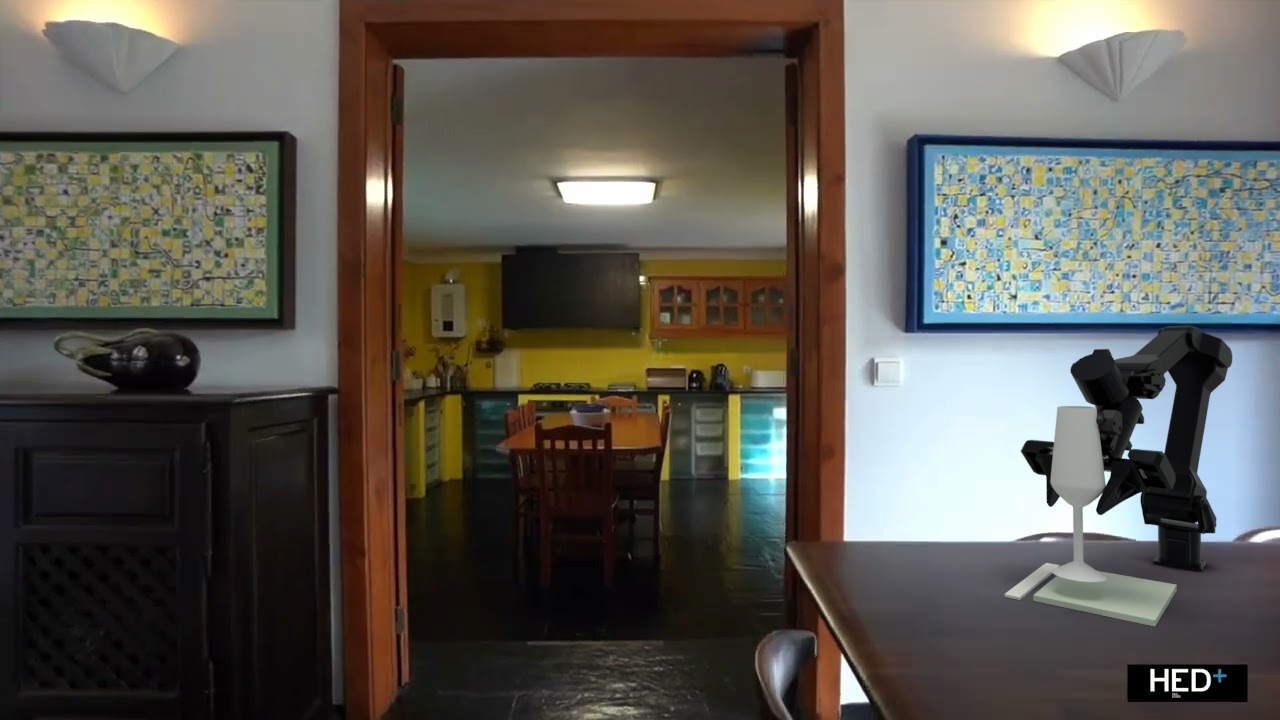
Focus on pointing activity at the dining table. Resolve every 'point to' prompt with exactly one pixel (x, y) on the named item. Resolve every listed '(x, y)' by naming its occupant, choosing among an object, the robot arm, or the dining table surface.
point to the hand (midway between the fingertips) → (1072, 508)
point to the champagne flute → (1077, 478)
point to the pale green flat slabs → (1100, 595)
